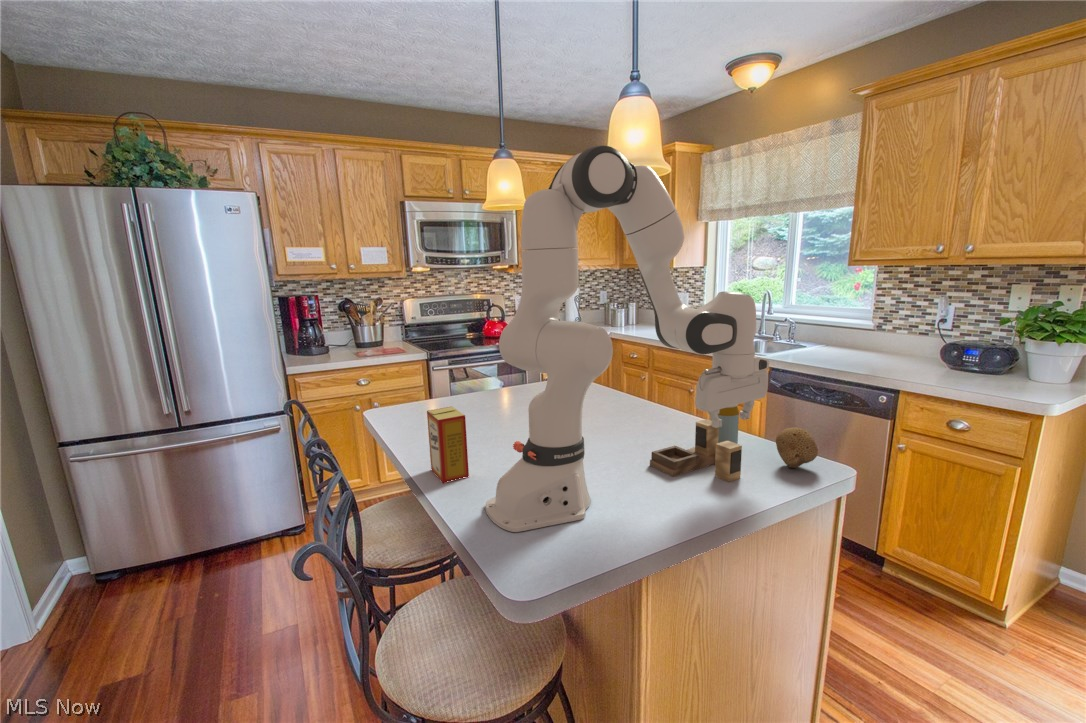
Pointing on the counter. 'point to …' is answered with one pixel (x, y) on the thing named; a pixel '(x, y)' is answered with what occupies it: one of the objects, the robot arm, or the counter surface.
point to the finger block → (728, 461)
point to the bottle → (729, 424)
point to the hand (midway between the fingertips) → (730, 422)
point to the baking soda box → (448, 443)
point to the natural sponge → (796, 447)
